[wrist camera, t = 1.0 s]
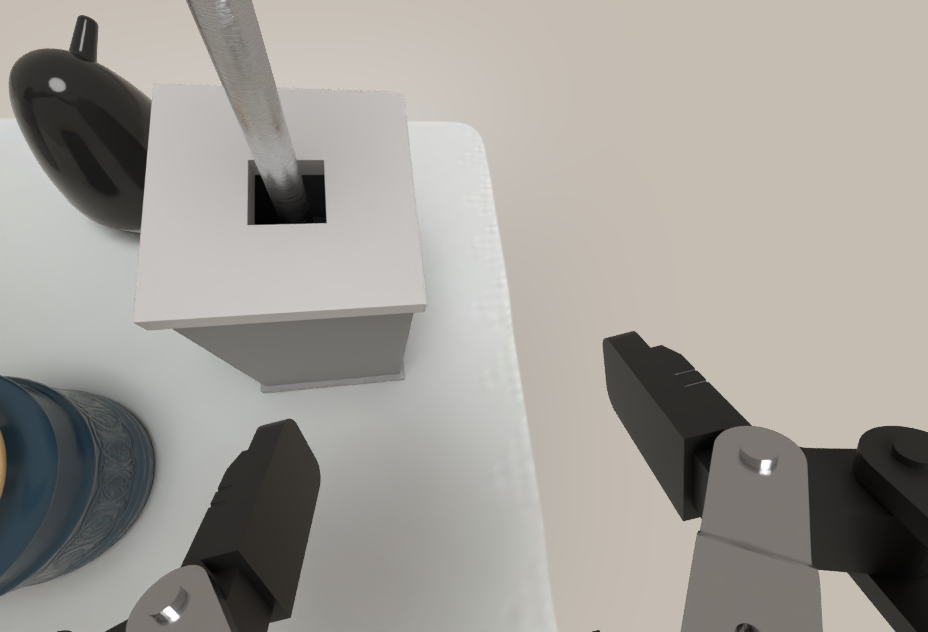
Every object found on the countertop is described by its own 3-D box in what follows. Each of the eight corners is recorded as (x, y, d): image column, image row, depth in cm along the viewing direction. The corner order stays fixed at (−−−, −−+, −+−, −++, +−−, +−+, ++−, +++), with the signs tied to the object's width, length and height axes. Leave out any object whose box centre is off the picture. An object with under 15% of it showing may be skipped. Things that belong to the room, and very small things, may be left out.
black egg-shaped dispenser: (233, 165, 43) (162, 22, 29) (196, 260, 40) (94, 152, 26) (122, 139, 42) (-10, -23, 28) (74, 235, 39) (-104, 106, 25)
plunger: (254, 332, 28) (-1772, -1675, 2) (255, 223, 30) (-629, -1419, 4) (377, 323, 30) (351, -783, 3) (370, 220, 32) (317, -956, 5)
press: (263, 393, 38) (132, 322, 18) (263, 243, 42) (156, 46, 22) (403, 379, 40) (426, 303, 20) (391, 238, 44) (400, 58, 24)
